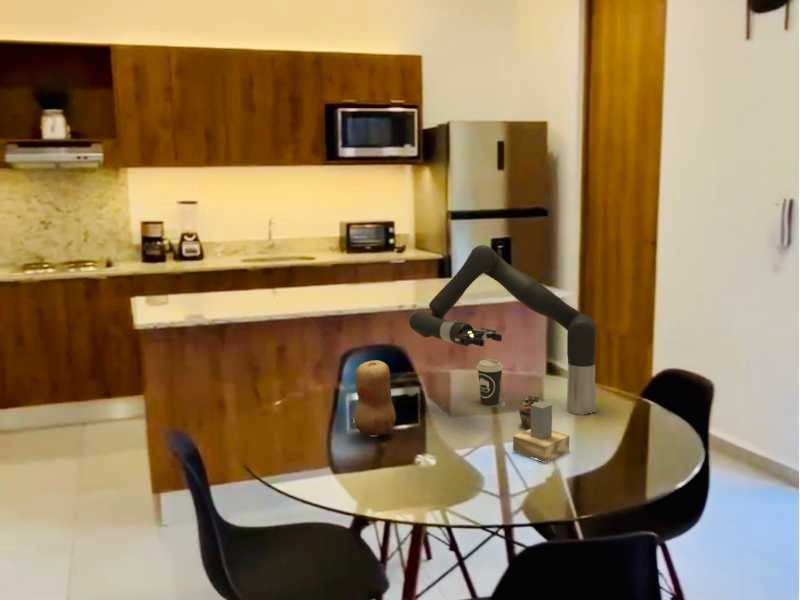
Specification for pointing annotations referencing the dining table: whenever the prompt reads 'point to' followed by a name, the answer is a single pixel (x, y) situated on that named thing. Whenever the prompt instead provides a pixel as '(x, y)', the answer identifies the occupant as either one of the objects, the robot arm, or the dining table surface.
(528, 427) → the cupcake
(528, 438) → the birch plinth
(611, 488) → the dining table surface
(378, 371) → the butternut squash
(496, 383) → the coffee cup
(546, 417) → the grey block
